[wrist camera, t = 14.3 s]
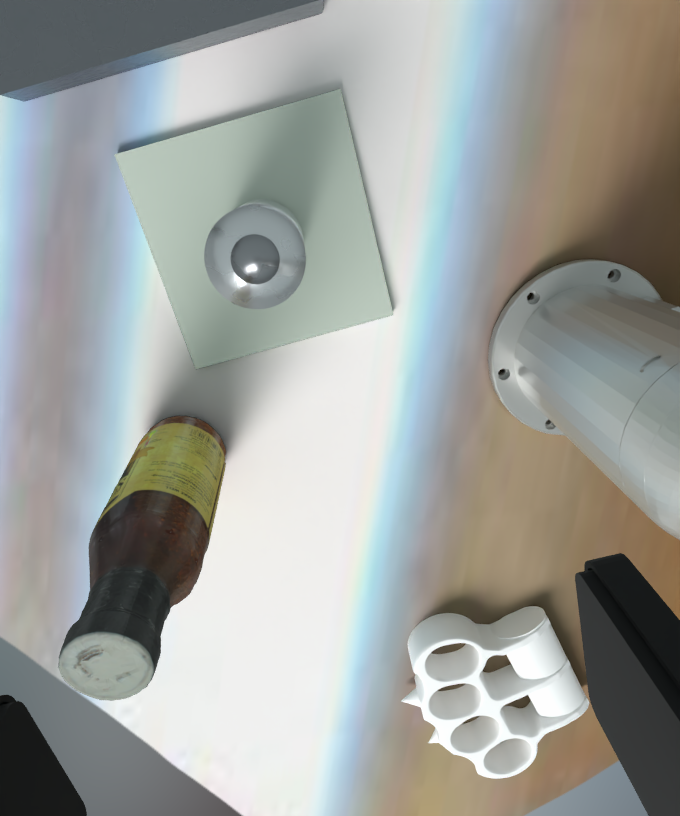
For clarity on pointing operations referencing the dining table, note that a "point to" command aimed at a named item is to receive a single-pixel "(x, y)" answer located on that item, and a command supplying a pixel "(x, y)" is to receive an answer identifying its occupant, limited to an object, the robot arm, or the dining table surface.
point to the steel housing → (120, 36)
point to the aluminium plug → (256, 254)
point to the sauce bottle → (145, 557)
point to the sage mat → (249, 180)
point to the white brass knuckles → (493, 687)
